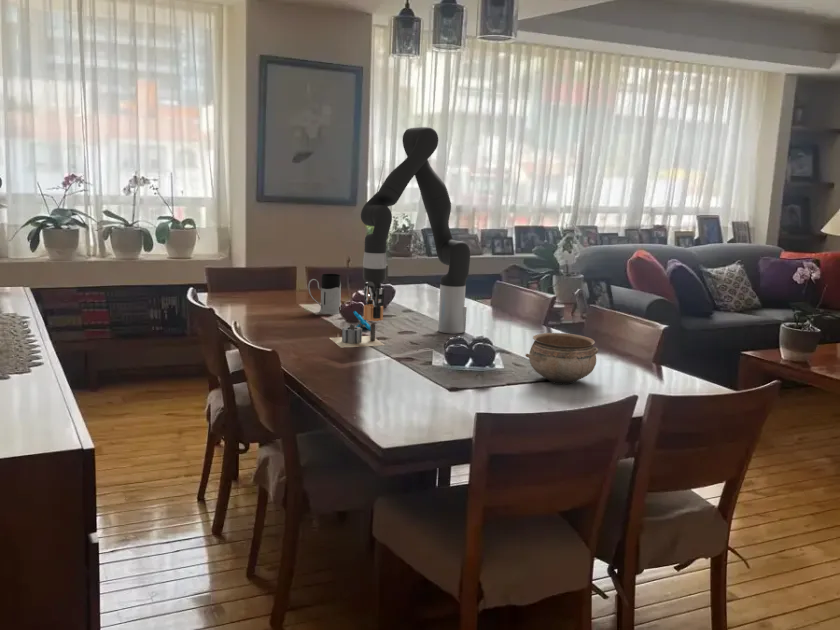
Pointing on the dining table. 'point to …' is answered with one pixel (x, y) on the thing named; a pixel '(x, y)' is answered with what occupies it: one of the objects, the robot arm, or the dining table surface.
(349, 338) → the gear
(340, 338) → the peg board
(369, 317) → the gear
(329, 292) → the white and black mug
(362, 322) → the blue sprocket wheel
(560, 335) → the cooking pot
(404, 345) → the dining table surface
